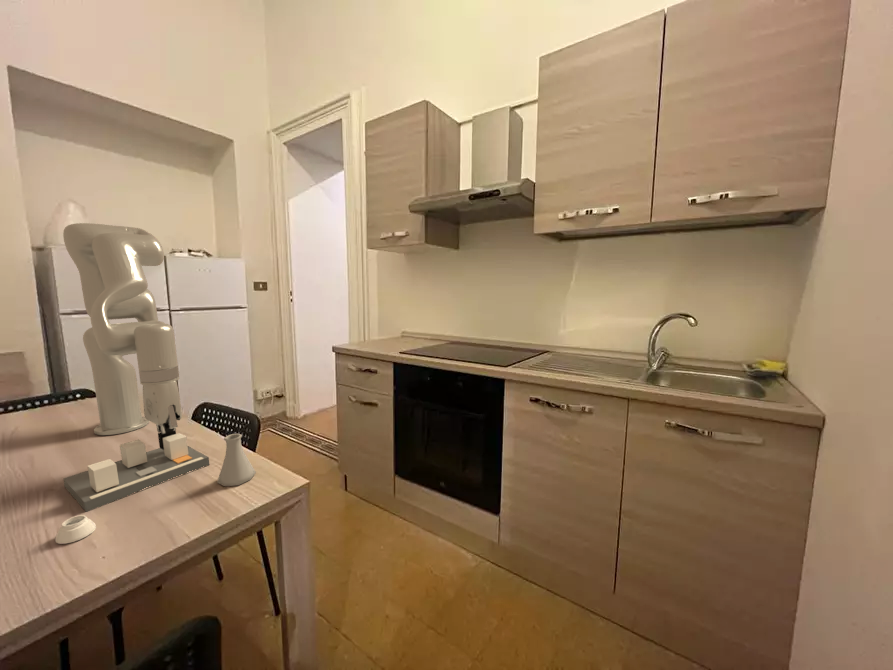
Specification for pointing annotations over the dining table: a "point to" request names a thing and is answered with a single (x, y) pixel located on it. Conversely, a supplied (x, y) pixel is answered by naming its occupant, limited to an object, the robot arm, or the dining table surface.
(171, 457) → the cream cube
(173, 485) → the dining table surface
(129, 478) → the switch panel
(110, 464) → the tab
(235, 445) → the flask
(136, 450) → the tab
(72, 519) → the upside-down white bowl
